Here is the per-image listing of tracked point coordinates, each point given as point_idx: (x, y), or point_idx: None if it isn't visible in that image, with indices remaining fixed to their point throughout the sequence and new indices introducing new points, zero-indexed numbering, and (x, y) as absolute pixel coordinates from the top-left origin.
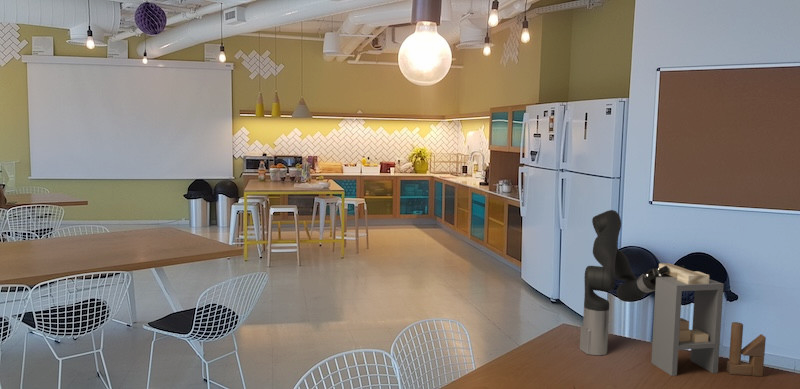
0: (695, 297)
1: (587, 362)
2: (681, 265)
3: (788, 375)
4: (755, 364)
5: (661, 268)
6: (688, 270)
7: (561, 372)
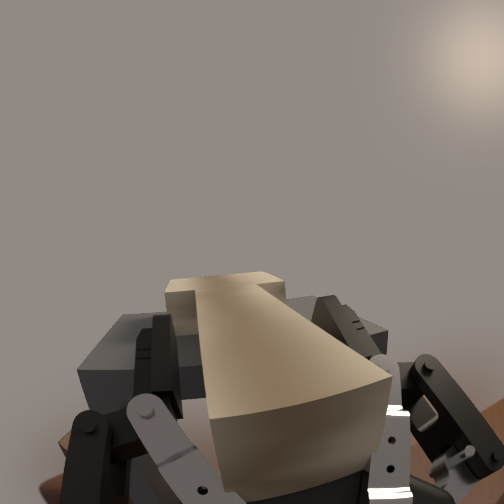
0: (145, 466)
1: (482, 489)
2: (169, 317)
3: (55, 482)
4: None
5: (361, 324)
6: (205, 293)
7: (498, 433)
